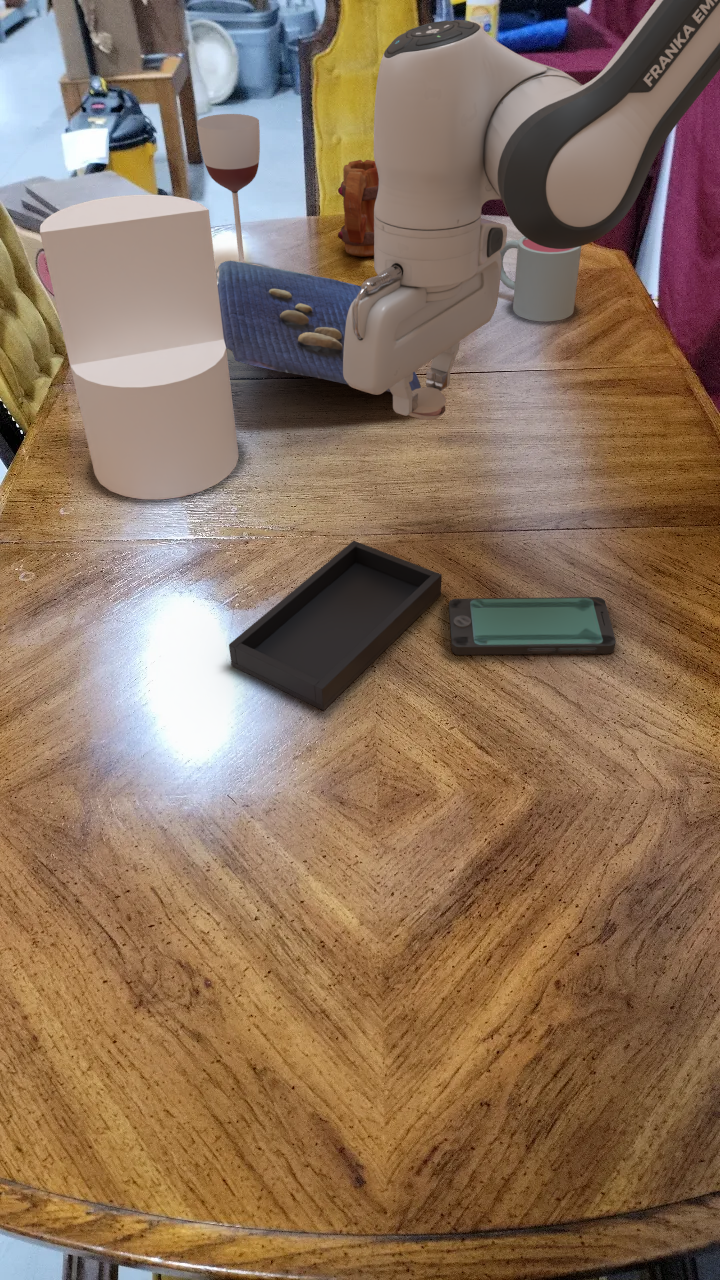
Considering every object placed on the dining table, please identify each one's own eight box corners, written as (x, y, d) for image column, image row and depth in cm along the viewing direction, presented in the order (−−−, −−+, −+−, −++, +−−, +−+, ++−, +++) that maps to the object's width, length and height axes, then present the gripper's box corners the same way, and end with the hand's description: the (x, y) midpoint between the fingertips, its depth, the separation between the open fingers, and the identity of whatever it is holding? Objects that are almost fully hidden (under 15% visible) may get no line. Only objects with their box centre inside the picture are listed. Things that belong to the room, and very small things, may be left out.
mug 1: (347, 242, 176) (344, 150, 166) (392, 244, 174) (392, 152, 165) (328, 272, 165) (324, 176, 155) (376, 275, 164) (375, 178, 154)
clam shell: (448, 425, 92) (450, 400, 90) (395, 428, 91) (395, 403, 90) (441, 404, 95) (442, 379, 93) (389, 406, 95) (390, 382, 93)
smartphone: (448, 596, 96) (604, 595, 96) (448, 606, 97) (602, 605, 97) (452, 646, 91) (617, 645, 90) (452, 657, 91) (615, 655, 91)
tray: (441, 595, 98) (442, 574, 97) (323, 711, 86) (322, 689, 85) (354, 560, 103) (353, 540, 101) (231, 665, 91) (228, 644, 89)
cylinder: (84, 441, 124) (31, 207, 105) (219, 415, 128) (190, 186, 110) (106, 512, 111) (50, 261, 93) (255, 481, 115) (229, 235, 97)
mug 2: (585, 307, 152) (593, 240, 145) (551, 326, 146) (559, 258, 140) (511, 286, 159) (516, 221, 152) (476, 304, 153) (480, 238, 147)
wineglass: (246, 258, 171) (232, 110, 156) (282, 273, 165) (271, 121, 150) (202, 272, 166) (184, 121, 151) (239, 288, 160) (223, 133, 146)
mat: (195, 317, 158) (206, 243, 151) (359, 347, 165) (376, 278, 159) (210, 437, 122) (225, 348, 116) (419, 469, 130) (444, 386, 124)
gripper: (387, 296, 76) (386, 456, 85) (517, 222, 88) (504, 368, 97) (321, 279, 78) (327, 435, 87) (456, 209, 91) (449, 352, 100)
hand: (421, 399), depth 92 cm, fingers closed on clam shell, 4 cm apart
